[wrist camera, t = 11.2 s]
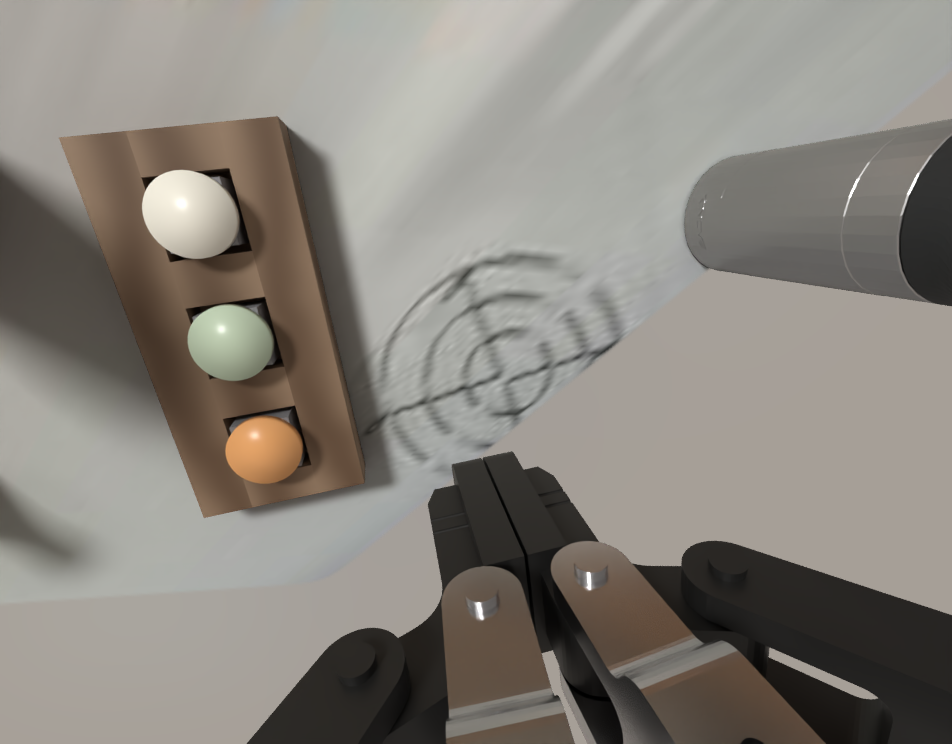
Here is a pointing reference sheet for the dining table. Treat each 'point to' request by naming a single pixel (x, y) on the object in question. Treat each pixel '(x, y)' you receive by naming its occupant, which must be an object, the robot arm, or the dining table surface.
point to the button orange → (266, 445)
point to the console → (225, 301)
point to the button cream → (194, 214)
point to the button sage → (233, 340)
